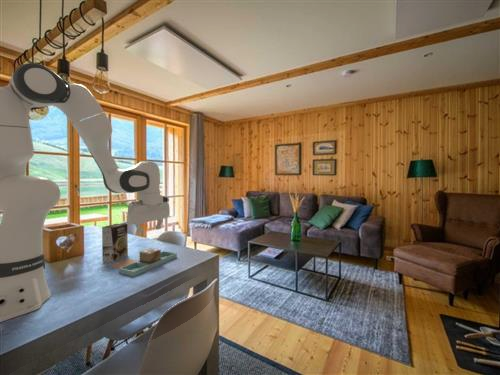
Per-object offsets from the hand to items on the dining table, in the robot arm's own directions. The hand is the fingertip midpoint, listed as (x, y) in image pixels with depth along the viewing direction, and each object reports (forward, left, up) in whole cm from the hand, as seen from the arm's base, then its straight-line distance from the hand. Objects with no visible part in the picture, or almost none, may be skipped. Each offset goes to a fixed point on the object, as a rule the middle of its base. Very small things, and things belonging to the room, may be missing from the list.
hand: (150, 231), depth 102 cm
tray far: (+8, 0, -15) cm, 17 cm away
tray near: (-8, 0, -15) cm, 17 cm away
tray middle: (0, 0, -15) cm, 15 cm away
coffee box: (-1, +21, -15) cm, 26 cm away
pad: (-4, +9, -15) cm, 18 cm away
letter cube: (0, 0, -15) cm, 15 cm away
